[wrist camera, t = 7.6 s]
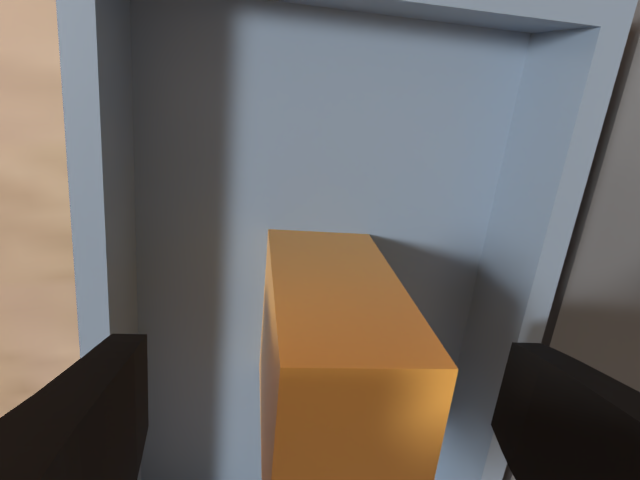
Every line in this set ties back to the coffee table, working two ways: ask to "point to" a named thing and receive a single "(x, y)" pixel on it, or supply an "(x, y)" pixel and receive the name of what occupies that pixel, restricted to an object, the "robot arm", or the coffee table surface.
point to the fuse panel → (606, 243)
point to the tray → (324, 184)
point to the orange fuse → (346, 365)
